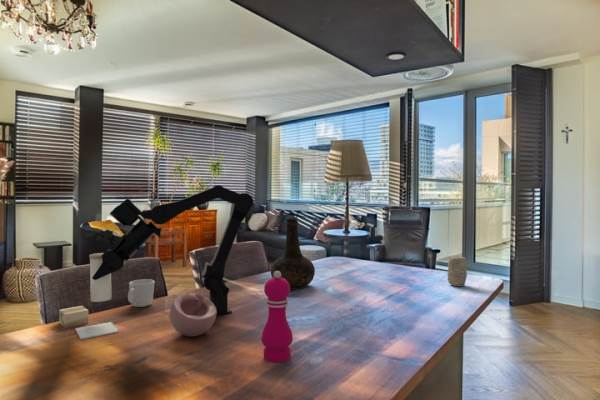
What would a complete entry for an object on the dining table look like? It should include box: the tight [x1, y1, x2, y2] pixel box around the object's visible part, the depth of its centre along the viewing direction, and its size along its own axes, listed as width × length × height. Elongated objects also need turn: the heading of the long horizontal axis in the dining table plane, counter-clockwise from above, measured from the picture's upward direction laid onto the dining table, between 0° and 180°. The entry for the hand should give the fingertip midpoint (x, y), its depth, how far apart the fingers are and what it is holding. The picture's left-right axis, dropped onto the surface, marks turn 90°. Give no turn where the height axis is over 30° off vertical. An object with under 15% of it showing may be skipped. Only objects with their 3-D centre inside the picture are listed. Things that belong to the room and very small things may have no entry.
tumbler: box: [88, 252, 112, 303], centre depth 112 cm, size 6×6×13 cm
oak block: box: [58, 305, 89, 329], centre depth 112 cm, size 6×6×4 cm
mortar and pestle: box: [169, 292, 217, 337], centre depth 103 cm, size 12×12×12 cm
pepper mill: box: [261, 271, 294, 363], centre depth 89 cm, size 7×7×20 cm
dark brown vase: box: [270, 217, 316, 290], centre depth 157 cm, size 18×18×28 cm
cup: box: [127, 278, 156, 308], centre depth 129 cm, size 11×8×8 cm
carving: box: [447, 255, 468, 287], centre depth 160 cm, size 6×8×12 cm
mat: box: [75, 321, 119, 341], centre depth 106 cm, size 9×9×1 cm
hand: (95, 276), depth 112 cm, fingers closed on tumbler, 5 cm apart
